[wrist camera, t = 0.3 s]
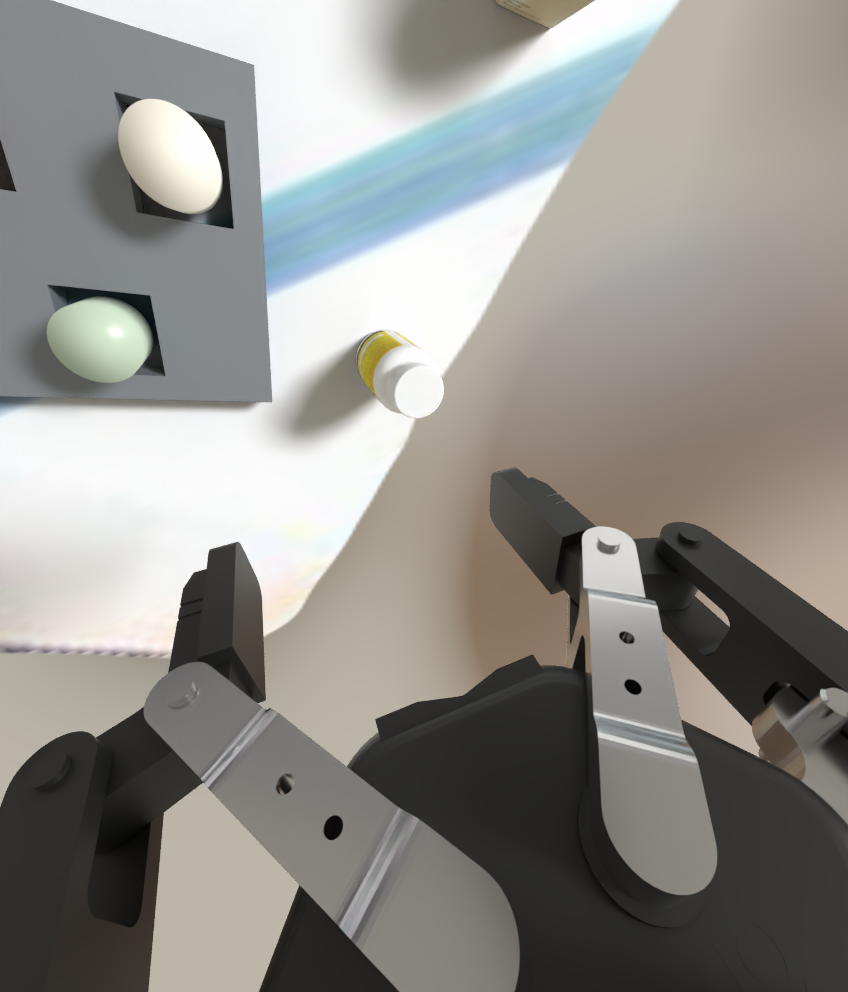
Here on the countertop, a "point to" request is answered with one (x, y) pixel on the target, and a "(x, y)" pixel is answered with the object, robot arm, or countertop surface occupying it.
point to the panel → (123, 208)
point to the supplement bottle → (399, 374)
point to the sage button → (100, 338)
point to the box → (545, 9)
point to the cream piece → (170, 156)
